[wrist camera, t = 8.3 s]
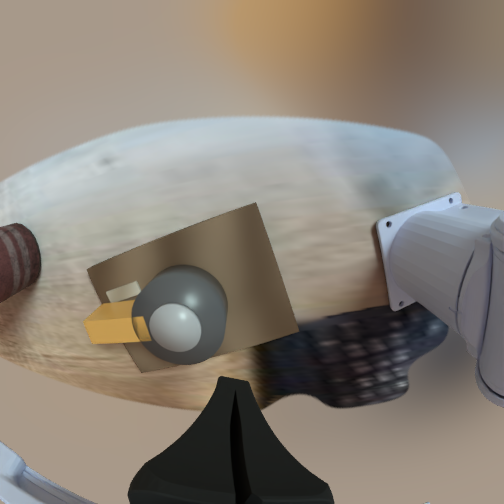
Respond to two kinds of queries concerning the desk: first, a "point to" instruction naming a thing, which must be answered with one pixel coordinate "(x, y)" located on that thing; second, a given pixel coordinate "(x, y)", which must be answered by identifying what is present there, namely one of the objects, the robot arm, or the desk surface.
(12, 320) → the desk surface
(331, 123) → the desk surface
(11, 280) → the can
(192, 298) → the toy saucepan
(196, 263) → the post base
